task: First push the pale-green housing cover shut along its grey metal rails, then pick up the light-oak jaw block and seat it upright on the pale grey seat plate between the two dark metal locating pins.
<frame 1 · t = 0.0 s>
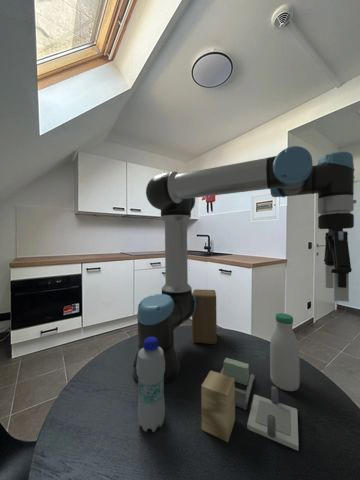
hand: (335, 293, 54), 28 cm above the table, fingers open, 13 cm apart
bottle: (151, 423, 47), on the table
housing frame: (233, 386, 59), on the table
milk bottle: (284, 383, 60), on the table
wooden block: (204, 338, 87), on the table
jaw block: (218, 424, 47), on the table
seat plate: (273, 420, 48), on the table
housing cover: (236, 370, 62), point 2 cm above the table, slide at 0.0 cm
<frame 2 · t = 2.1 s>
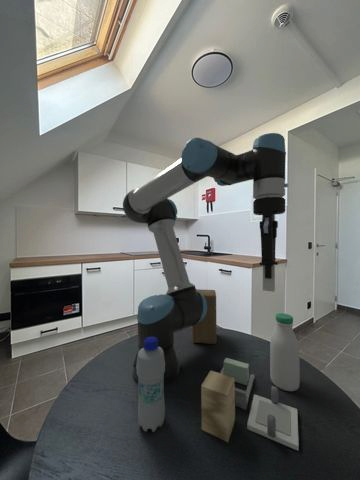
hand: (268, 290, 52), 30 cm above the table, fingers closed
nothing on the table moved.
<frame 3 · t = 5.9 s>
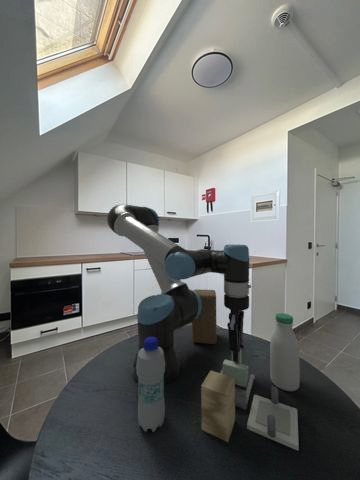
hand: (236, 369, 63), 2 cm above the table, fingers closed
housing cover: (235, 372, 61), point 3 cm above the table, slide at 1.0 cm, touching gripper
everything else where it was.
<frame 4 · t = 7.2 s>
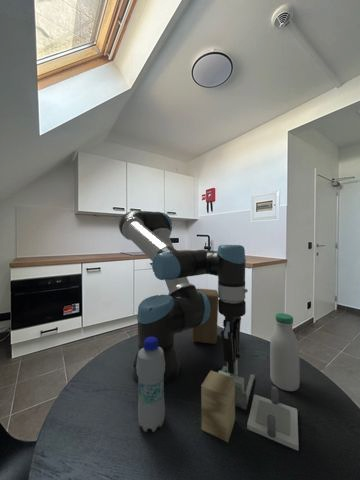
hand: (232, 381, 58), 2 cm above the table, fingers closed
wooden block: (204, 338, 87), on the table, touching arm
housing cover: (230, 385, 56), point 2 cm above the table, slide at 7.0 cm, touching gripper
everything else where it was.
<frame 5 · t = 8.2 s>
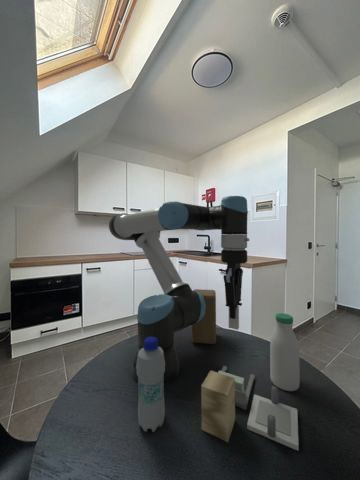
hand: (233, 327, 61), 16 cm above the table, fingers closed
wooden block: (204, 338, 87), on the table
housing cover: (230, 385, 56), point 2 cm above the table, slide at 7.0 cm
everything else where it was.
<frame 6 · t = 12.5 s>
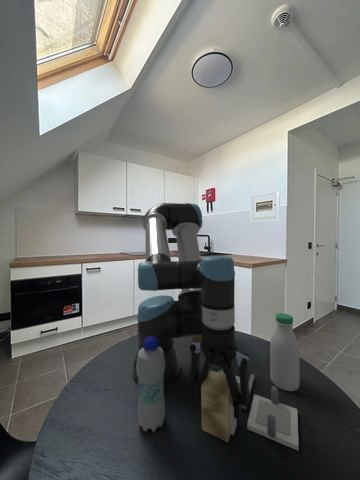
hand: (218, 422, 47), 0 cm above the table, fingers closed on jaw block, 6 cm apart
jaw block: (218, 424, 47), on the table, touching gripper
everything else where it was.
when the fingers open (2 cm above the table, at t = 17.7 s): jaw block stays where it is, resting on seat plate.
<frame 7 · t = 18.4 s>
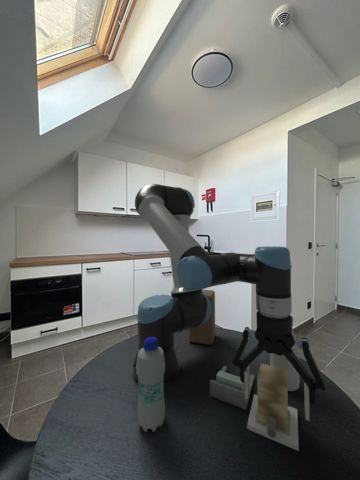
hand: (275, 404, 47), 4 cm above the table, fingers open, 12 cm apart
wooden block: (202, 339, 86), on the table, touching arm
jaw block: (273, 415, 47), point 1 cm above the table, touching seat plate
everything else where it was.
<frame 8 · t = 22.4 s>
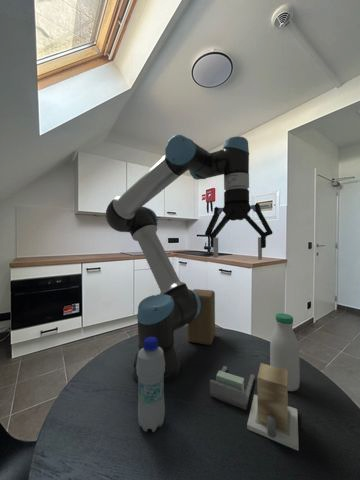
hand: (236, 258, 63), 37 cm above the table, fingers open, 13 cm apart
nothing on the table moved.
at the end: housing cover slide at 7.0 cm; jaw block 0.1 cm off-centre on the seat plate, point 1.2 cm above the seat plate's base; jaw block tilted 0° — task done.
